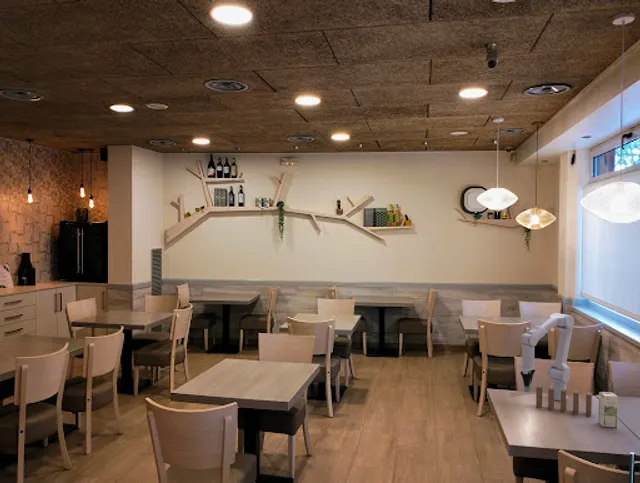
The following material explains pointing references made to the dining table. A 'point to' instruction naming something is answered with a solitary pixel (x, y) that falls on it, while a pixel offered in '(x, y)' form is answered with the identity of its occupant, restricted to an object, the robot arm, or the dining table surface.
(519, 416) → the dining table surface
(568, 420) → the dining table surface
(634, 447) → the dining table surface
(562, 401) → the domino
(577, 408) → the domino
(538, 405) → the domino
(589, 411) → the domino
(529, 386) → the domino
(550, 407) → the domino
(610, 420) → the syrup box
